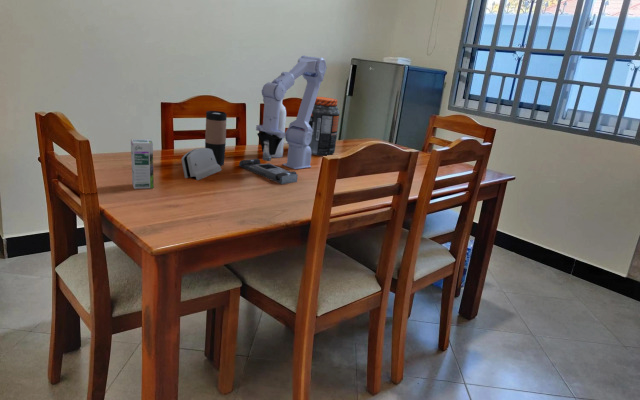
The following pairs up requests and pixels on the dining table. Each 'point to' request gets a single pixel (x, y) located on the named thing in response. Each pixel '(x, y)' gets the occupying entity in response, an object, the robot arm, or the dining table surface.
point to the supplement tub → (324, 126)
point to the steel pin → (266, 151)
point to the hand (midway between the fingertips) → (268, 153)
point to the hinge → (199, 163)
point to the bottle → (282, 128)
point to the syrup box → (142, 163)
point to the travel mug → (216, 134)
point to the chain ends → (269, 171)
